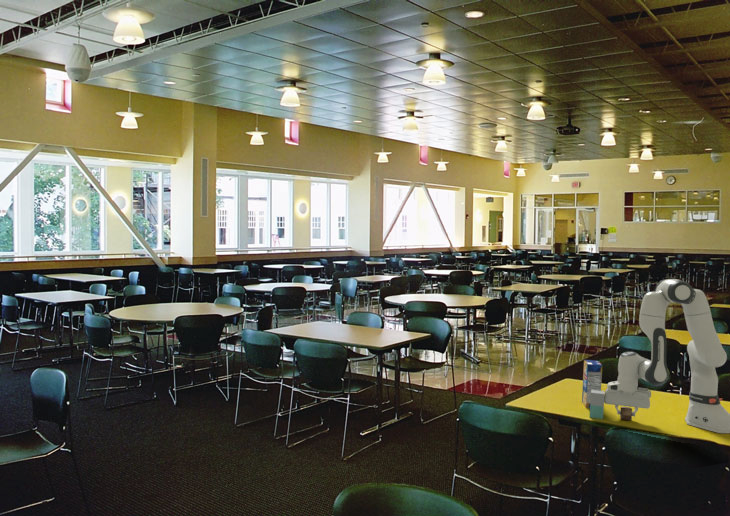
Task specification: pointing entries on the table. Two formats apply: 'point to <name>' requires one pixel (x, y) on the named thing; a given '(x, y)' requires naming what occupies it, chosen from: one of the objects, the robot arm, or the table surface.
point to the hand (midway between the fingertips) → (626, 415)
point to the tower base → (596, 411)
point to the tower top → (597, 398)
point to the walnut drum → (626, 413)
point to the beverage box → (591, 380)
